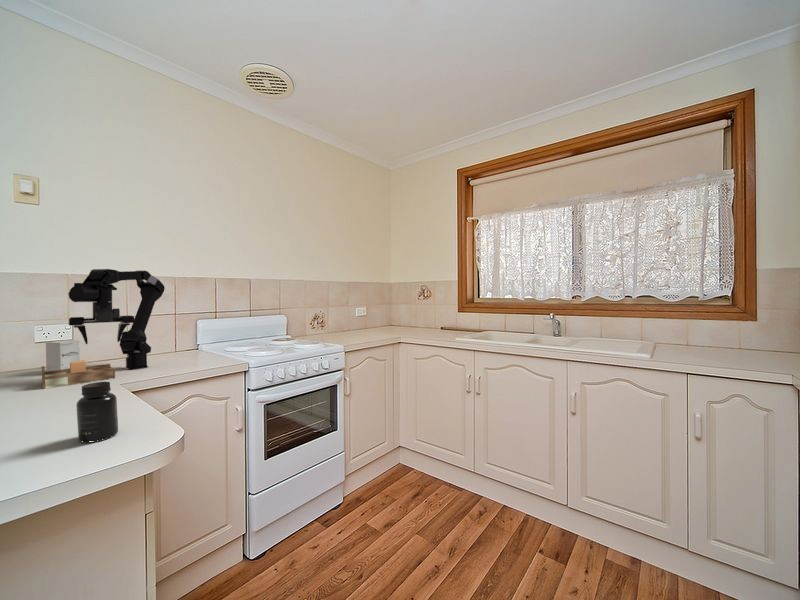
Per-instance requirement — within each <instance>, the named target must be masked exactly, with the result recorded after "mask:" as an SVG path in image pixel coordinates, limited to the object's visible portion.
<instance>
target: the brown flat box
mask: <svg viewBox="0 0 800 600" xmlns="http://www.w3.org/2000/svg"><path fill="white" fill-rule="evenodd" d="M109 378H113V379H116V369H115V366H114V367H112V366H111V363H104V364H97V365H96V364H95V365H88V366H87V365H86V371H84V372H76V373H70V369H63V370H55V371H47V370H46V371H45V366H41V384H42V389H43V390H44V389H45V388H46V389H51V388H52V387H53V388H59V386H60V387H63V386H65V385H66V386H72V384H73V385H78V383H80V384H85V382H86V383H92V382H91V381H93V382H98V381H97V380H100V381H105V380H104V379H106V380H110V379H109ZM66 386H65V387H66Z"/></svg>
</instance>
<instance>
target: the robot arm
mask: <svg viewBox="0 0 800 600" xmlns="http://www.w3.org/2000/svg"><path fill="white" fill-rule="evenodd" d="M121 281H136V285H137V287H138V288H139V289H140V290H139V293H140V297H141V300H140V303H139V305H138V308H137V312H136V314H135V316H133V315H130V314H129V315H121V313H120V308H113V291H117V290H118V288H117V287H115V286H114V285H113V284H116V283H119V282H121ZM164 292H165V285H164V283H163V282H162V281H160V279H158V278H157V277H156V276H154V275H152V274H151V273H150V272H149V271H147V270H134V271H132V270H131V271H123V270H122V271H119V270H117V269H116V270H115V269H111V268H100V269H99V268H97V269H95V268H94V269H91V270H90V272H89V274H88V275H87V276H86V278H85V279H84V280H83V281H82V282H75V283H73V286H72V287H71V288H70V289H69V292H68V297H69V300H70V301H71V302H73V303H92V317H91V318H87V317H86V318H85V317H84V316H73V317H71V316H70V318H68V326H73V328H76V329H78V331H79V332H80V334H81V336H82V338H83V340H84V343H85V344H86V345H88V335H87V328H86V325H85V324H98V323H99V324H101V323H102V324H103V323H118V327H117V336H116V340H117V343H119V347H120V349H121V353H122V354H123V355H126V356H127V357H125V368H127V369H128V370H131V371H132V370H138V369H146V368H149V365H148V359H147V357H148V356H147V354H150V353H151V352H152V347H151V346H150V345H149V343H147V334H146V329H147V326H148V324H149V323H148V322H149V321H150V318H151V314H152V312H153V309H154V306H155V302H157V301H158V300H159V299H160V298H162V295H163V294H164ZM127 326H131V327H130V329H129V330H128V331H125V329H126V328H127Z"/></svg>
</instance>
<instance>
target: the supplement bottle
mask: <svg viewBox="0 0 800 600" xmlns="http://www.w3.org/2000/svg"><path fill="white" fill-rule="evenodd" d="M111 391H112V388H111V382H109V381H95V382H89V383H87V384H84V385H81V396H82V397H81V398H79V399H78V400H77V402H76V420H77V438H78V441H79V442H80V441H83V442H89V441H97V440H102V439H105V440H107V439H106V438H108V439H110V438H109V437H111V436H113V437H114V436H116V435H117V434H118V432H119V417H118V401H117V396H116V394H114V393H112V392H111ZM115 434H116V435H115ZM111 438H112V437H111ZM102 441H103V440H102Z"/></svg>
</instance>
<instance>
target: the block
mask: <svg viewBox="0 0 800 600" xmlns="http://www.w3.org/2000/svg"><path fill="white" fill-rule="evenodd" d="M86 367H87V363H86V360H80V361H74V362H70V373H76V372H84V371H86Z"/></svg>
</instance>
